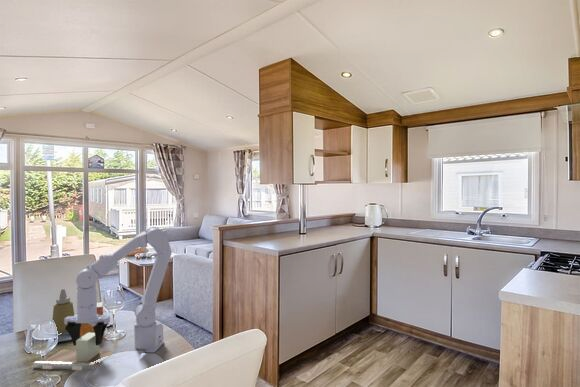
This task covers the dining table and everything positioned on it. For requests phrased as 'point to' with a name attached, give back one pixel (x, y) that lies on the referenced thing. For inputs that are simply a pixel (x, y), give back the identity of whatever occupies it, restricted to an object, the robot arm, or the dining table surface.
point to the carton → (86, 347)
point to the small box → (89, 326)
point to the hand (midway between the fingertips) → (87, 344)
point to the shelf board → (70, 361)
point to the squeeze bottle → (62, 311)
